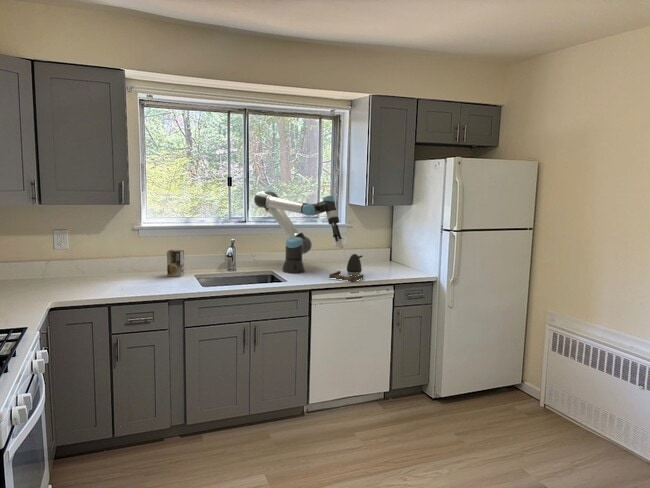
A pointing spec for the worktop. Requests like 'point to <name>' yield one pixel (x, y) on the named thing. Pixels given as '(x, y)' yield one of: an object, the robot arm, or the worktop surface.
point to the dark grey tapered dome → (354, 265)
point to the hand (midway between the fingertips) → (340, 247)
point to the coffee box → (175, 263)
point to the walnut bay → (345, 277)
